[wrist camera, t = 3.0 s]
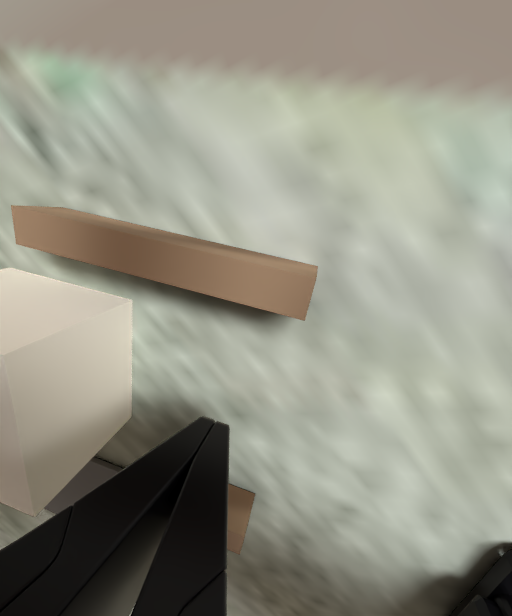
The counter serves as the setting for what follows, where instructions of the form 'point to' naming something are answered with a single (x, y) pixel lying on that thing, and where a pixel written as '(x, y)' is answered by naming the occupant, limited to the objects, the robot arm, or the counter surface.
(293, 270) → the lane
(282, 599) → the counter surface
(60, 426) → the block
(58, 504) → the mat
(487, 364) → the counter surface
